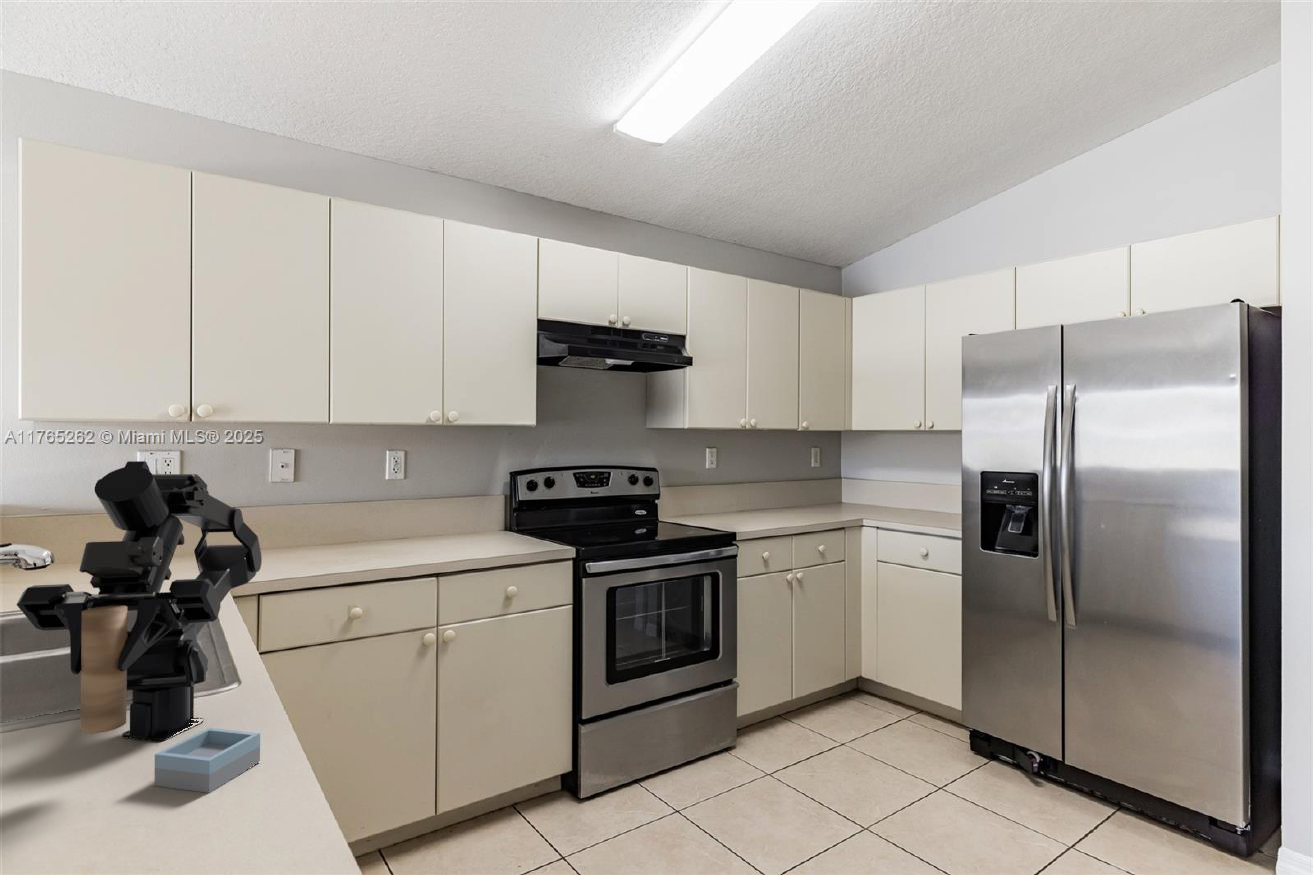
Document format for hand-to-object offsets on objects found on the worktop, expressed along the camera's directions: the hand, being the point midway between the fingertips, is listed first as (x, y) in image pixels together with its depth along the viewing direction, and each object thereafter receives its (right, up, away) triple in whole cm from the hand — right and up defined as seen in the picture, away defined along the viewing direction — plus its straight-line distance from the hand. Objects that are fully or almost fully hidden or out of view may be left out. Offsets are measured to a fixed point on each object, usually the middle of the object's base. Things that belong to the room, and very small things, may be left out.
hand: (97, 671), depth 76 cm
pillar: (0, -7, +1) cm, 7 cm away
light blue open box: (+10, -13, +4) cm, 17 cm away
